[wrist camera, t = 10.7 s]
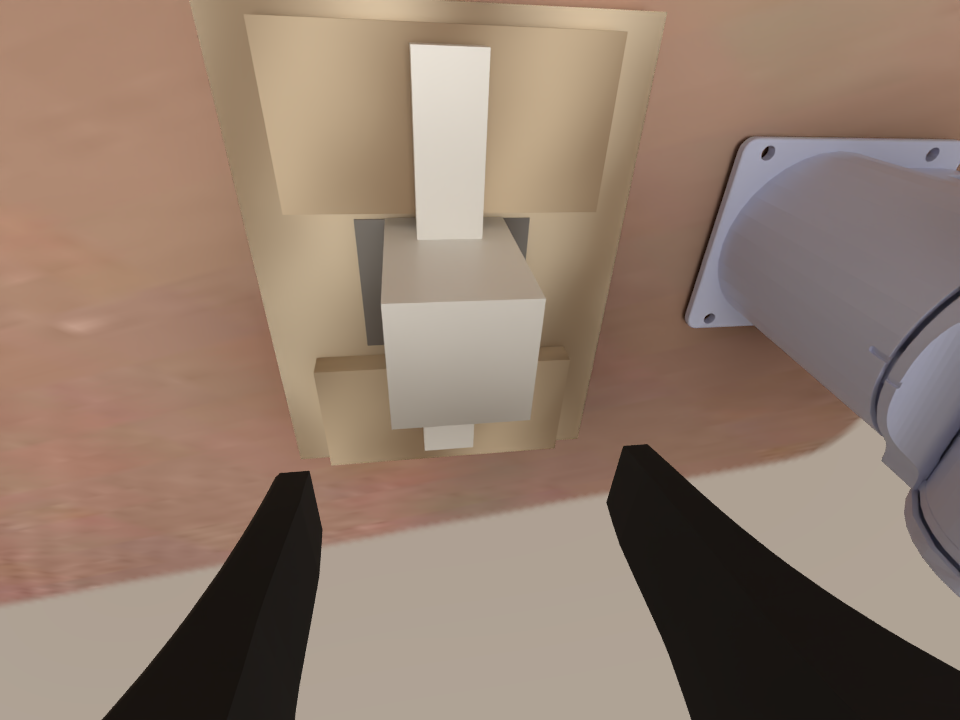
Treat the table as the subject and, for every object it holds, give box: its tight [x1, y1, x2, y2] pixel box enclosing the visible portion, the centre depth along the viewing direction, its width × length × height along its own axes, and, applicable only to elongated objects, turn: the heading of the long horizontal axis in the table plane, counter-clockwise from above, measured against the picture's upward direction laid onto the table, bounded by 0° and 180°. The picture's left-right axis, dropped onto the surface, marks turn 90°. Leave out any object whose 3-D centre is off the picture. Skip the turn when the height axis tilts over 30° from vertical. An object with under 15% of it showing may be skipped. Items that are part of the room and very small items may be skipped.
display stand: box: [189, 0, 667, 465], centre depth 18 cm, size 13×17×2 cm
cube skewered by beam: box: [381, 42, 546, 451], centre depth 15 cm, size 4×14×6 cm, turn 178°
